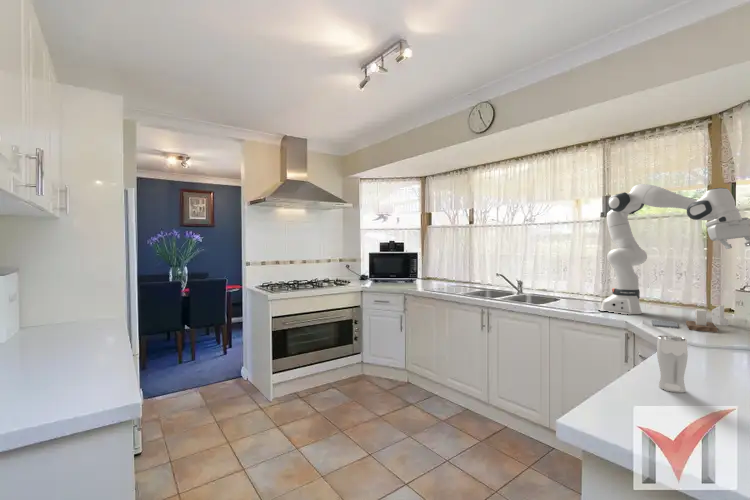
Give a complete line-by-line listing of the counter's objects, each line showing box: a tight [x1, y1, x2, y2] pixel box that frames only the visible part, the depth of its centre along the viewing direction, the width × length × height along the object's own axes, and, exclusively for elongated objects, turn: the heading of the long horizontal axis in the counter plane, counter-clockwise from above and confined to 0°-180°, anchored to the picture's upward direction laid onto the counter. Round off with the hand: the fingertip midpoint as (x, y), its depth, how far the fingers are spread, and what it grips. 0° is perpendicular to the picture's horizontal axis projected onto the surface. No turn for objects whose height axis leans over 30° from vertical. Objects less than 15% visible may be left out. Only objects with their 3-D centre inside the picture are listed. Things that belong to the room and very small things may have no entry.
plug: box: [694, 308, 708, 326], centre depth 176 cm, size 4×5×9 cm
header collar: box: [685, 319, 718, 333], centre depth 176 cm, size 10×14×2 cm
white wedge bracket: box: [711, 305, 730, 326], centre depth 183 cm, size 4×10×9 cm, turn 168°
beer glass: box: [656, 334, 689, 394], centre depth 106 cm, size 7×7×15 cm
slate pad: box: [651, 319, 679, 329], centre depth 185 cm, size 10×12×1 cm
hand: (739, 247), depth 168 cm, fingers open, 8 cm apart
